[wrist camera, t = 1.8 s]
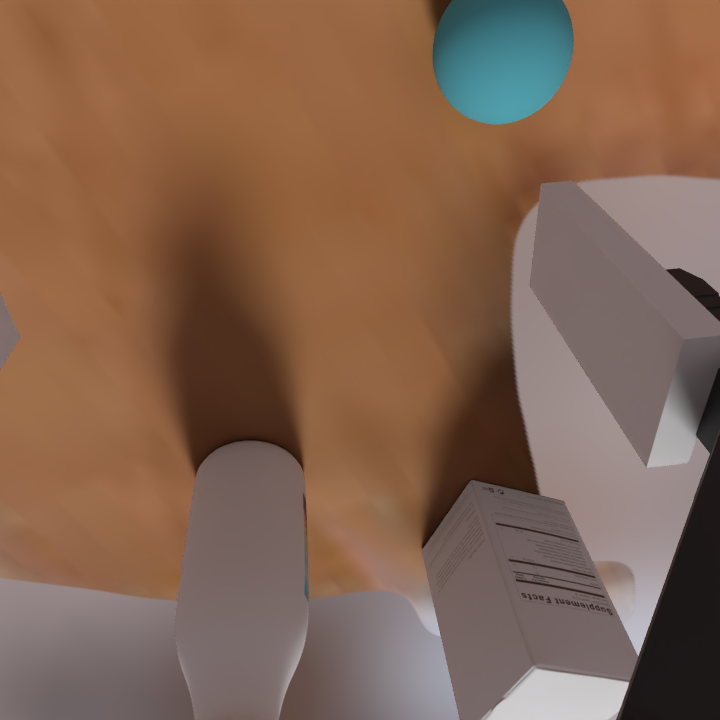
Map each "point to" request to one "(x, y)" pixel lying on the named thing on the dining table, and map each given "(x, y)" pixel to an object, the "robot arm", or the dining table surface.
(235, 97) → the dining table surface
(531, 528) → the supplement box
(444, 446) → the dining table surface
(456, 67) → the ball
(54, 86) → the dining table surface
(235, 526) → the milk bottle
